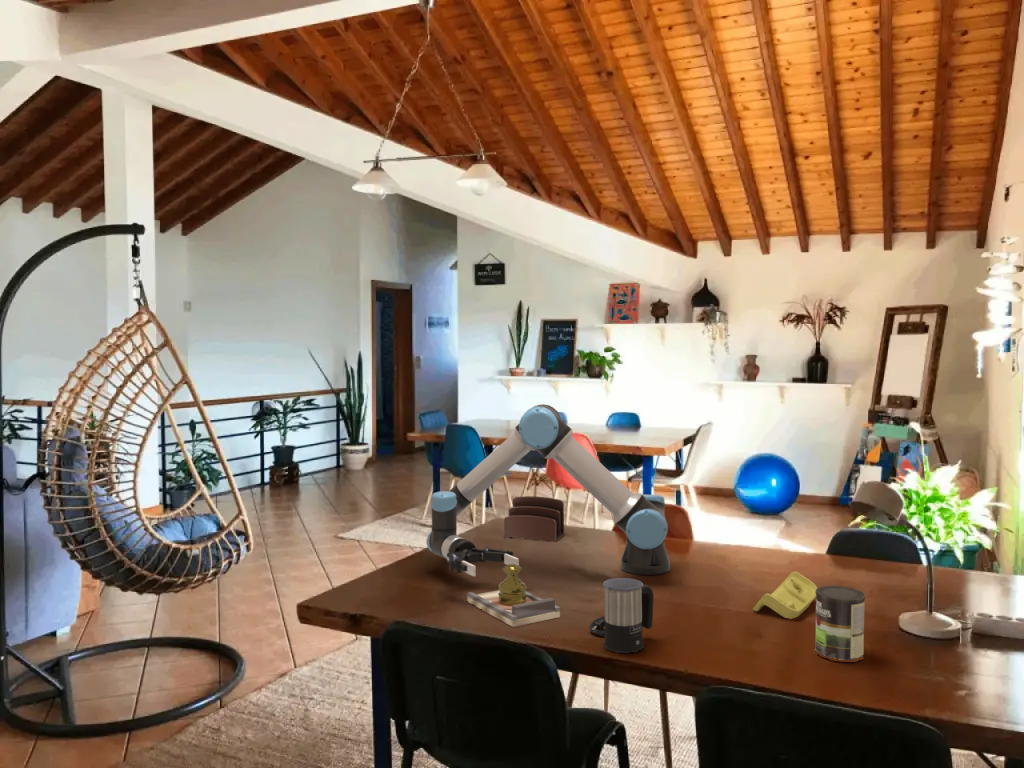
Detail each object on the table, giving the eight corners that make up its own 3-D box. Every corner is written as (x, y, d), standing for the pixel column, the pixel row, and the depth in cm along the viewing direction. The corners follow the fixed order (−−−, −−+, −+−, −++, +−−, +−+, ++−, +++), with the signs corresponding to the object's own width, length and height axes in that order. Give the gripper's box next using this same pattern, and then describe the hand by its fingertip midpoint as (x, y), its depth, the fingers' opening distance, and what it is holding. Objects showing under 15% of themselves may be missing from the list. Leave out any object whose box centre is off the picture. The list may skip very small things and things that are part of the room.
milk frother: (633, 657, 183) (633, 591, 183) (570, 643, 192) (570, 580, 191) (658, 637, 195) (658, 576, 195) (598, 625, 204) (598, 566, 203)
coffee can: (827, 664, 179) (828, 600, 178) (807, 647, 189) (807, 586, 188) (873, 662, 179) (874, 598, 179) (850, 645, 190) (851, 584, 189)
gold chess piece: (493, 604, 215) (493, 566, 215) (504, 596, 222) (504, 559, 222) (520, 607, 212) (520, 569, 212) (530, 599, 219) (530, 561, 219)
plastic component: (796, 613, 205) (761, 590, 210) (784, 636, 208) (749, 612, 213) (823, 589, 220) (790, 567, 226) (812, 610, 223) (779, 588, 228)
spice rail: (467, 601, 224) (466, 585, 224) (511, 593, 231) (511, 577, 231) (513, 627, 203) (513, 609, 203) (560, 617, 211) (559, 599, 210)
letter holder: (513, 532, 306) (513, 494, 306) (564, 536, 299) (564, 497, 299) (503, 538, 297) (503, 499, 296) (556, 542, 290) (556, 502, 289)
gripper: (496, 557, 248) (534, 574, 230) (420, 570, 235) (455, 588, 217) (496, 532, 248) (534, 547, 230) (420, 543, 235) (455, 560, 217)
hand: (496, 567), depth 223 cm, fingers open, 13 cm apart
